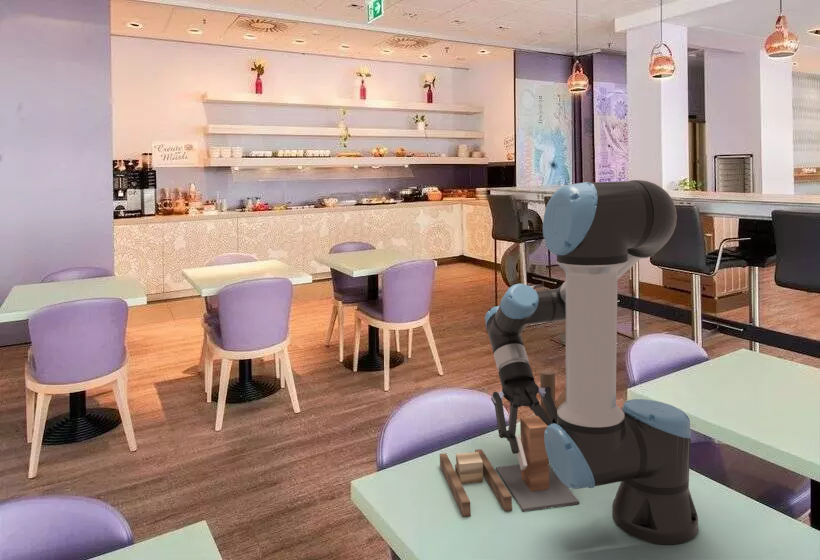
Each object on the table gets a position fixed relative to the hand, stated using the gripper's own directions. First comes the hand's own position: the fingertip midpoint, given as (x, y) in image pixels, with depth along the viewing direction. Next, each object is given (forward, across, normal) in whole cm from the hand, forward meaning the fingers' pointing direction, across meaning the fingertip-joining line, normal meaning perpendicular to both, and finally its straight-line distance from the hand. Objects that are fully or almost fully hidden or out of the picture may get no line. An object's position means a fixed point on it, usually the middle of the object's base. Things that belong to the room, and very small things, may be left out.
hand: (540, 465), depth 123 cm
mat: (+2, 0, -7) cm, 7 cm away
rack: (0, +13, -9) cm, 16 cm away
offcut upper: (-4, +13, -10) cm, 17 cm away
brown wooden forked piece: (-13, -15, -23) cm, 30 cm away
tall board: (+2, 0, -7) cm, 7 cm away
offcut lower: (-3, +13, -12) cm, 18 cm away
